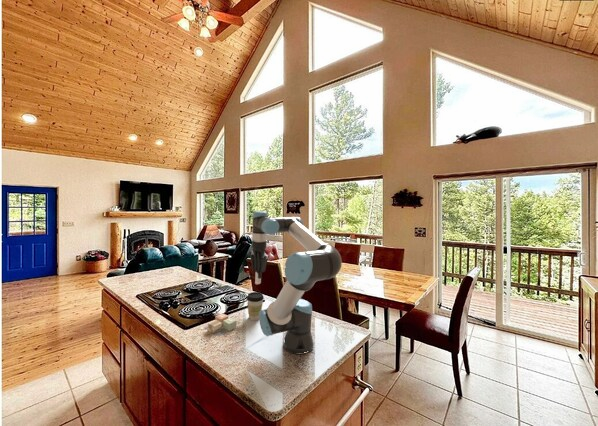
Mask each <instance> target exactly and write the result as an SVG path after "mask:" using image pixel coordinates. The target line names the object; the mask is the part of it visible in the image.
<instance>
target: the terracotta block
mask: <svg viewBox="0 0 598 426" xmlns="http://www.w3.org/2000/svg"><path fill="white" fill-rule="evenodd" d="M214 317H215V318H214V319H215V320H217V321H219V322H221V323H222V325H223V321H224V320H226V319H228V318H229V315H227V314H225V313H223V312H221V313H219V314H218V315H216V316H214Z"/></svg>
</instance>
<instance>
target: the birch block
mask: <svg viewBox="0 0 598 426" xmlns="http://www.w3.org/2000/svg"><path fill="white" fill-rule="evenodd" d="M207 326H208V330H209V332H210V333H212V334H213V335H215V333H217V332H219V331H221V330H222V323H221V322H219V321H217V320H213V321H210V322H208V324H207ZM208 330H207V331H208Z"/></svg>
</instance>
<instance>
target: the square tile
mask: <svg viewBox="0 0 598 426" xmlns="http://www.w3.org/2000/svg"><path fill="white" fill-rule="evenodd" d="M204 329H206V330H207V331H209V330H208V325H207V326H205V327H204ZM209 332H210V331H209ZM228 332H229V331H228V330H227V329H225V328H223V325H222V330H221V331H219V332H217V333H215V334H214V335H215V336H216V337H221V336H222V335H224V334H226V333H228Z"/></svg>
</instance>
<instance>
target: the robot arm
mask: <svg viewBox="0 0 598 426" xmlns="http://www.w3.org/2000/svg"><path fill="white" fill-rule="evenodd" d="M279 233H289V235H290V236H291V237H293V238H294V239H295V241H297V242H298V243H299V244H300V245H301V246H303V248H305V250H306V251H298V252H292V254H290V255H288V256H287V259H286V260H285V263H284V275H285V279H286V281H285V283H284V285H283V287H282V288H281V290H280V292H279V294H278V295H277V297H276V298H275V301H272V302H271V303H270V304H269V305H268V307H267V308H265V309H262V310H261V311H260V312H259V321H258V322H259V326H260V330H261V332H262V334H263V335H264V336H266V337H269V336H274V335H276V334H281V333H285V332H286V333H285V335H284V338H283V348H284V349H285V350H286V351H287V350H288V351H290V352H292V353H291V354H293V353H304V352H307V351H310V350H311V349H312V348H313V349H314V344H315V343H314V339H313V335H312V314H313V305H312V303H311V302H309V301H308V300H305V299H303V298H302V297H303V295H304V294H305V292H308V291H310V290H311V289H312V288H313V287H314V285H315V283H316V282H318V281H319V282H320V281H325V280H330V279H333V278H334V277H336V276H337V275H339V272H340V270H341V268H342V264H343V260H342V256H341V253H340V252H339V251H338V249H337V248H336V247H334V245H332V244H331V243H326V242H325V241H323V240H322V239H321V238H319V237H318V236H317V235H316V234H315V233H313V232H312V231H311V230H310V229H308V227H306V226H305V225H304V221H303V220H302V218H301V217H299V216H286V217H268V212H267V211H266V210H265V211H264V210H255V211H253V213H252V234H251V248H252V249H251V251H249V252H248V253H249V256H250V264H251V270H253V271H254V279H255V281H254V284H255V285H260V284H261V283H262V277H263V276H262V275H263V273H264V272H265V271H266V268H267V264H268V259H269V258H270V255H269V254H267V251H266V248H267V237H268V235H269V236H274V235H276V234H279ZM313 349H312V350H313ZM312 350H311V351H312ZM288 351H287V352H288ZM311 351H310V352H311ZM290 352H289V353H290Z"/></svg>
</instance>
